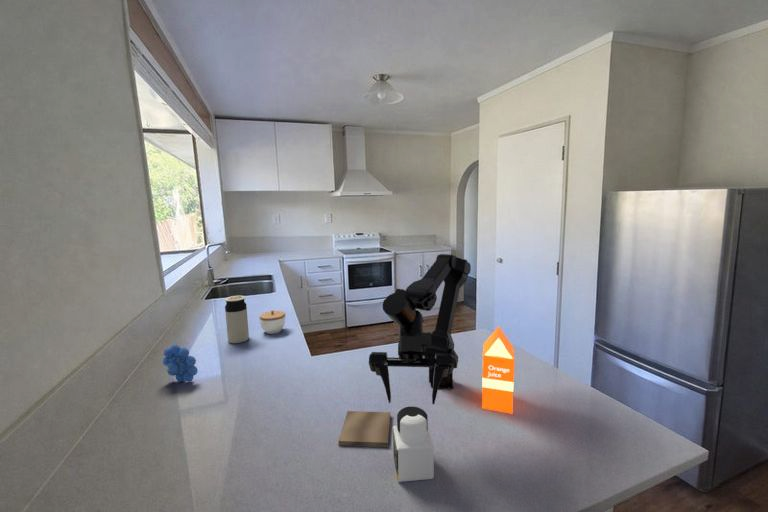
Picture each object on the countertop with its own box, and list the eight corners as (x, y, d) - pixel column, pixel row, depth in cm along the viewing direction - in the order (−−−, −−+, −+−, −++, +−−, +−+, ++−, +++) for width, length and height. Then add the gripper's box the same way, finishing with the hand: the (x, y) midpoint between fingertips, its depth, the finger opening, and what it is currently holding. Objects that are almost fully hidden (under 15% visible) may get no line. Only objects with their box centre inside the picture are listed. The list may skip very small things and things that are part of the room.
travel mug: (253, 338, 136) (249, 296, 134) (235, 345, 130) (231, 301, 127) (241, 335, 141) (238, 294, 138) (224, 341, 134) (220, 298, 132)
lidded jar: (276, 325, 152) (275, 305, 151) (291, 329, 146) (290, 309, 144) (255, 332, 143) (254, 312, 142) (270, 337, 137) (269, 316, 136)
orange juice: (511, 395, 91) (514, 326, 89) (513, 413, 83) (515, 338, 80) (482, 390, 94) (484, 323, 91) (481, 408, 86) (482, 335, 83)
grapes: (154, 387, 100) (149, 349, 98) (172, 376, 106) (168, 340, 104) (187, 390, 97) (182, 352, 96) (203, 379, 104) (200, 343, 102)
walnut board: (390, 415, 83) (390, 412, 83) (387, 446, 72) (387, 442, 72) (347, 414, 84) (347, 411, 84) (338, 445, 73) (338, 440, 73)
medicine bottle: (393, 455, 70) (392, 403, 68) (426, 452, 70) (426, 401, 69) (397, 483, 63) (396, 425, 61) (434, 479, 63) (434, 422, 62)
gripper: (368, 317, 72) (362, 391, 63) (454, 318, 71) (461, 394, 62) (373, 338, 81) (368, 405, 72) (449, 339, 80) (454, 408, 70)
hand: (411, 403), depth 69 cm, fingers open, 9 cm apart
